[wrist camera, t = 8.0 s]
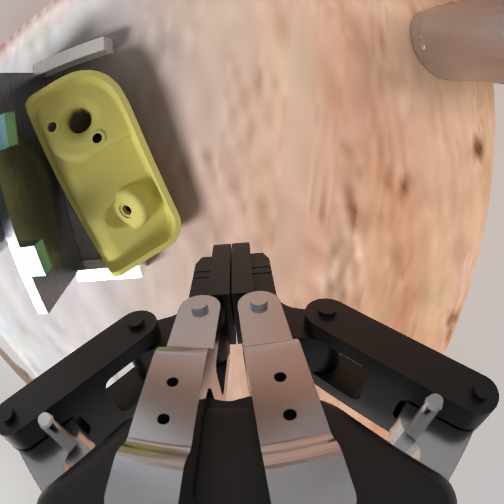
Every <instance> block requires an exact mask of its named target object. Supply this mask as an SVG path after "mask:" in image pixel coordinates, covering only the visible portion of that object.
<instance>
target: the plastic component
mask: <svg viewBox="0 0 504 504" xmlns="http://www.w3.org/2000/svg"><path fill="white" fill-rule="evenodd" d="M25 107H26V110H27V113H28V115H29V118H30V120H31V123H32V125H33V127H34V130H35V132H36V134H37V137H38V139H39V141H40V143H41V146H42V148H43V150H44V152H45V154H46V156H47V159H48V161H49V163H50V165H51V167H52V169H53V171H54V173H55V175H56V177H57V179H58V181H59V183H60V185H61V187H62V189H63V191H64V193H65V195H66V197H67V198H68V200H69V202H70V204H71V206H72V208H73V210H74V211H75V213H76V215H77V217H78V219H79V220H80V222H81V224H82V226H83V227H84V229H85V231H86V232H87V234H88V236H89V237H90V239H91V241H92V242H93V244H94V246H95V247H96V249H97V251H98V252H99V254H100V256H101V257H102V259H103V261H104V262H105V264H106V266H107V268H108V269H109V271H110V273H111V274H112V276H114V277H118V276H121V275H123V274H125V273H126V272H128V271H129V270H131V269H133V268H134V267H136V266H138V265H139V264H141V263H142V262H144V261H146V260H147V259H149V258H151V257H152V256H154V255H156V254H157V253H159V252H161V251H162V250H164V249H166V248H167V247H169V246H170V245H172V244H173V243H174V242H175V240H176V239H177V238H178V235H179V233H180V230H181V219H180V215H179V213H178V211H177V209H176V207H175V205H174V203H173V200H172V198H171V196H170V194H169V192H168V190H167V187H166V185H165V183H164V181H163V179H162V176H161V174H160V172H159V170H158V168H157V165H156V163H155V161H154V159H153V156H152V154H151V152H150V149H149V147H148V145H147V143H146V140H145V138H144V136H143V133H142V131H141V129H140V126H139V124H138V121H137V119H136V117H135V115H134V112H133V110H132V108H131V106H130V103H129V101H128V100H127V98H126V96H125V94H124V92H123V91H122V89H121V88H120V86H119V85H118V84H117V83H116V82H115V81H114V80H113V79H112V78H111V77H109V76H108V75H106V74H104V73H101V72H98V71H94V70H80V71H75V72H72V73H69V74H67V75H64V76H62V77H61V78H59V79H57V80H55V81H54V82H52V83H50V84H49V85H47V86H45V87H44V88H42V89H41V90H39V91H37V92H36V93H34V94H33V95H31V96H30V97H29V98H28V100H27V102H26V103H25ZM79 112H86V113H88V114H89V115H90V116H91V118H92V122H91V125H90V127H89V128H88V129H87V130H86V131H85V132H83V133H74V132H73V131H72V129H71V124H70V123H71V120H72V118H73V117H74V116H75V115H76V114H77V113H79ZM53 122H55V123H56V125H57V127H56V129H55V131H53V132H50V130H49V128H48V127H49V124H51V123H53ZM97 133H98V134H100V135H101V136H102V140H101V141H100V142H99V143H94V142H93V139H92V138H93V136H94V135H95V134H97ZM125 205H126V206H128V207H129V208H130V209H131V212H129V211H128V210H127V209H126V207H125Z"/></svg>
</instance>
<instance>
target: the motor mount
mask: <svg viewBox="0 0 504 504" xmlns="http://www.w3.org/2000/svg"><path fill="white" fill-rule="evenodd" d="M112 53H113V40H111V39H109V38H106V37H104V36H103V37H100V38H97V39H94V40H91V41H88V42H85V43H83V44H80V45H77V46H75V47H72V48H70V49H67V50H65V51H62V52H60V53H58V54H55V55H53V56H51V57H49V58H46V59H44V60H42V61H40V62H38V63H36V64H34V65H33V73H0V252H2V251H3V250H4V249H5V248H6V247H7V246H8V245H9V248H10V250H11V253H12V256H13V258H14V261H15V263H16V266H17V268H18V271H19V273H20V275H21V278H22V280H23V282H24V284H25V287H26V289H27V291H28V293H29V295H30V297H31V300H32V302H33V304H34V306H35V308H36V310H37V312H38V314H49V312H50V311H51V309H52V308H53V306H54V305H55V303H56V302H57V300H58V299H59V298H60V296H61V295H62V293H63V292H64V290H65V289H66V288H67V286H68V285H69V283H70V282H71V281H72V279H73V278H74V276H75V275H76V277H77V279H78V282H82V281H98V280H113V279H128V278H142V277H143V275H144V273H145V271H146V268H147V262H146V261H144V262H142V263H141V264H139V265H138V266H136V267H134V268H133V269H131V270H129V271H128V272H126V273H125V274H123V275H121V276H118V277H114V276H112V274H111V273H110V271H109V269H108V268H107V266H106V264H105V262H104V261H103V259H95V260H84V261H82V258H81V255H80V252H79V249H78V246H77V242H76V239H75V236H74V233H73V229H72V226H71V222H70V219H69V215H68V212H67V208H66V204H65V200H64V196H63V192H62V188H61V185H60V183H59V181H58V179H57V177H56V175H55V173H54V171H53V169H52V167H51V165H50V163H49V161H48V159H47V156H46V154H45V152H44V150H43V148H42V146H41V143H40V141H39V139H38V137H37V134H36V132H35V130H34V127H33V125H32V123H31V120H30V118H29V115H28V113H27V110H26V107H25V103H26V102H27V100H28V98H29V97H30V96H31V95H33V94H34V93H36V92H37V91H39V90H41V89H42V88H44V87H45V86H46V77H48V76H51V75H53V74H55V73H58V72H60V71H63V70H65V69H68V68H70V67H73V66H76V65H78V64H81V63H84V62H87V61H90V60H93V59H96V58H99V57H102V56H105V55H108V54H112ZM48 128H49V130H50V132H51V128H50V124H49V127H48Z"/></svg>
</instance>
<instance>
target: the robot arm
mask: <svg viewBox="0 0 504 504" xmlns="http://www.w3.org/2000/svg"><path fill="white" fill-rule="evenodd" d="M410 36H411V41H412V45H413V47H414V50H415V52H416V54H417V56H418V58H419V59H420V61H421V62H422V64H423V65H424V66H425V67H426V68H427V69H428V70H429V71H430V72H431V73H432V74H434V75H435V76H437V77H439V78H442V79H445V80H465V81H478V82H490V83H499V84H504V0H459V1H456V2H452V3H448V4H444V5H441V6H437V7H434V8H431V9H427V10H424V11H422V12H419V13H418V14H417V15H416V16H415V17H414V18H413V20H412V22H411V27H410ZM236 332H237V340H238V344H242V347H243V356H244V363H245V370H246V377H247V383H248V390H249V397H246V398H242V399H238V400H235V401H226V393H227V383H228V373H229V363H230V360H229V353H230V344H236ZM342 354H343V355H342ZM345 356H346V357H345ZM347 357H348V358H347ZM350 359H351V360H350ZM352 360H353V361H352ZM354 361H355V362H356V363H355V362H354ZM131 362H133V364H134V366H135V367H134V368H133V369H131V370H130V371H129V372H127V373H126V374H125V375H124V376H122V377H121V378H120V379H118V380H117V381H116V382H115V383H113V384H112V385H111V386H109V387H108V388H106V383H107V381H108V380H109V379H110V378H111V377H112V376H114V375H115V374H116V373H118V372H119V371H120V370H122V369H123V368H124V367H125V366H127V365H128V364H129V363H131ZM357 363H358V364H357ZM359 364H360V365H359ZM315 384H316V385H317V386H319V387H320V388H322V389H323V390H324V391H326V392H327V393H329V394H330V395H332V396H333V397H335V398H336V399H338V400H339V401H341V402H342V403H344V404H345V405H347V406H349V407H350V408H352V409H353V410H355V411H356V412H358V413H359V414H361V415H363V416H364V417H366V418H367V419H369V420H371V421H372V422H374V423H375V424H377V425H379V426H380V427H382V428H384V429H385V430H387V431H388V432H389V440H390V443H389V442H388V441H386V440H385V439H383V438H382V437H380V436H379V435H377V434H376V433H374V432H373V431H371V430H370V429H368V428H367V427H365V426H364V425H362V424H361V423H360V422H358V421H357V420H355V419H354V418H352V417H351V416H350V415H348V414H347V413H345V412H344V411H342V410H341V409H339V408H338V407H336V406H334V405H332V404H329V403H327V402H324V401H321V400H320V399H319V396H318V393H317V390H316V387H315ZM498 401H499V393H498V390H497V387H496V385H495V384H494V382H493V381H492V380H491V379H489V378H488V377H486V376H484V375H482V374H480V373H478V372H476V371H474V370H472V369H470V368H468V367H466V366H464V365H462V364H460V363H458V362H456V361H454V360H452V359H450V358H449V357H446V356H445V355H443V354H441V353H439V352H437V351H435V350H433V349H431V348H429V347H427V346H425V345H423V344H421V343H419V342H417V341H415V340H413V339H411V338H409V337H407V336H405V335H403V334H401V333H399V332H397V331H396V330H394V329H392V328H390V327H388V326H386V325H384V324H382V323H380V322H378V321H376V320H374V319H372V318H370V317H368V316H366V315H364V314H362V313H360V312H358V311H356V310H354V309H353V308H351V307H349V306H347V305H345V304H343V303H341V302H339V301H336V300H333V299H318V300H315V301H312V302H311V303H309V304H308V305H307V307H306V309H297V308H292V307H289V306H286V305H284V304H283V303H281V302H280V300H279V298H278V297H277V296H276V291H275V286H274V281H273V276H272V271H271V267H270V261H269V258H268V257H267V256H266V255H264V254H263V253H254V254H250V245H249V242H247V243H234V244H232V248H231V244H222V245H214V246H213V253H212V257H202V258H201V259H200V260H199V261H198V263H197V264H196V266H195V271H194V275H193V280H192V285H191V290H190V295H189V298H188V299H187V300H185V301H184V302H183V303H182V304H181V305H180V307H179V310H178V313H177V314H176V315H174V316H171V317H168V318H164V319H160V320H157V319H156V317H155V315H154V314H152V313H151V312H148V311H135V312H132V313H129V314H127V315H126V316H124V317H123V318H121V319H120V320H118V321H117V322H115V323H114V324H113V325H111V326H110V327H108V328H107V329H105V330H104V331H102V332H101V333H100V334H98V335H97V336H95V337H94V338H92V339H91V340H89V341H88V342H87V343H85V344H84V345H82V346H81V347H79V348H78V349H77V350H75V351H74V352H72V353H71V354H70V355H68V356H67V357H65V358H64V359H62V360H61V361H60V362H58V363H57V364H55V365H54V366H53V367H51V368H50V369H48V370H47V371H46V372H44V373H43V374H41V375H40V376H39V377H37V378H36V379H34V380H33V381H32V382H30V383H29V384H27V385H26V386H25V387H23V388H22V389H21V390H19V391H18V392H16V393H15V394H14V395H12V396H11V397H10V398H8V399H7V400H6V401H4V402H3V403H2V404H0V435H1V436H3V437H4V438H5V439H6V440H7V441H8V442H9V443H11V444H12V446H13V447H14V448H15V449H17V450H18V451H19V452H20V454H21V456H22V458H23V460H24V462H25V464H26V465H27V467H28V469H29V471H30V473H31V474H32V476H33V478H34V480H35V481H36V483H37V485H38V486H39V488H40V490H41V491H42V493H41V495H40V497H39V498H38V501H37V504H457V499H456V495H455V492H454V490H453V487H452V486H451V484H450V483H449V479H450V477H451V475H452V473H453V472H454V470H455V468H456V466H457V464H458V462H459V460H460V458H461V456H462V454H463V452H464V450H465V448H466V446H467V444H468V442H469V440H470V438H471V435H472V433H473V432H474V431H475V430H476V429H477V428H478V426H479V425H480V424H481V423H482V422H483V421H484V420H485V419H486V418H487V417H488V416H489V414H490V413H491V412H492V411H493V410H494V409H495V408H496V406H497V404H498Z"/></svg>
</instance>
